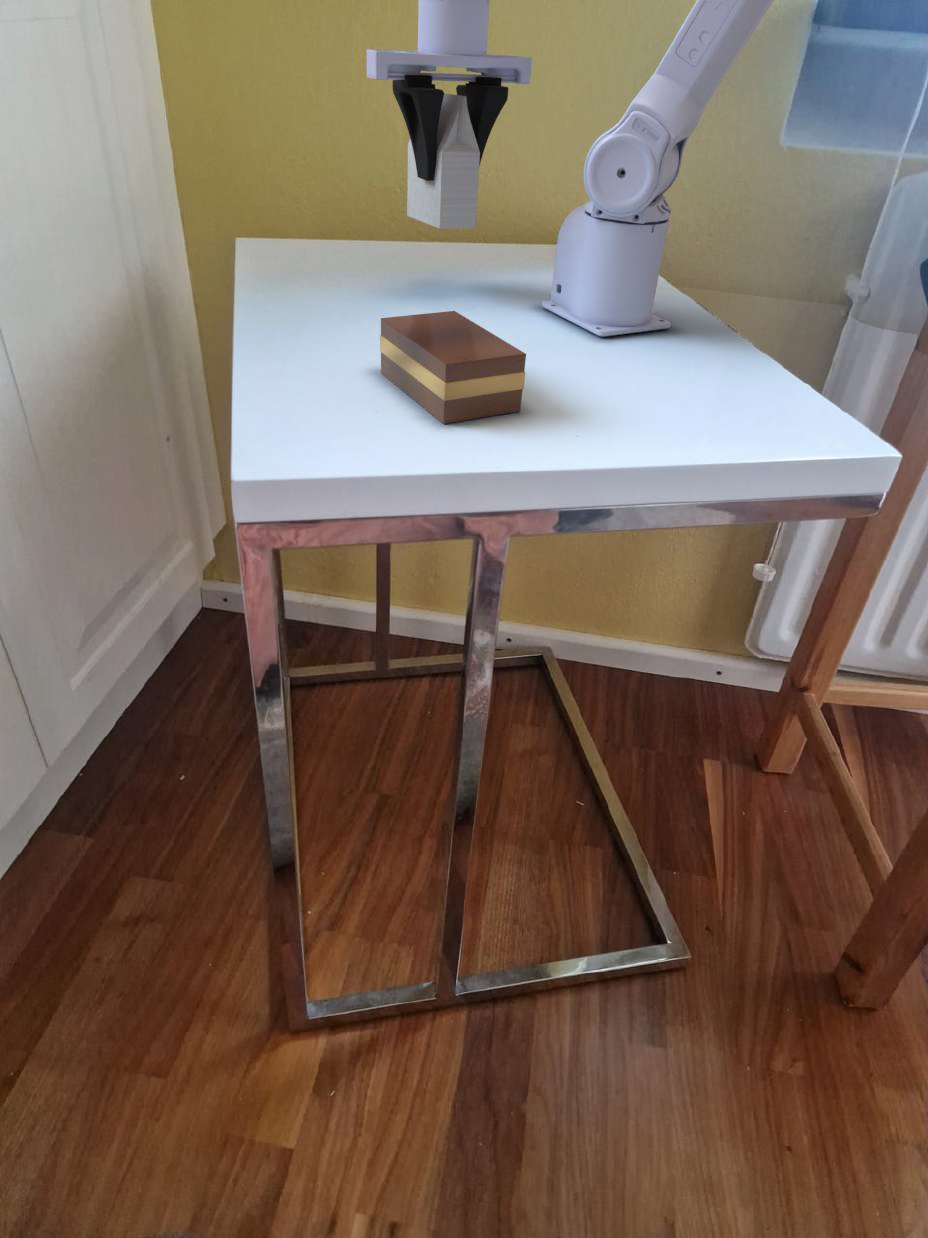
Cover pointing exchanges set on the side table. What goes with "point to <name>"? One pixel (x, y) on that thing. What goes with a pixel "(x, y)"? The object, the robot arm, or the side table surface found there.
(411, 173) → the white milk carton
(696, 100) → the robot arm
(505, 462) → the side table surface
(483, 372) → the snack box
